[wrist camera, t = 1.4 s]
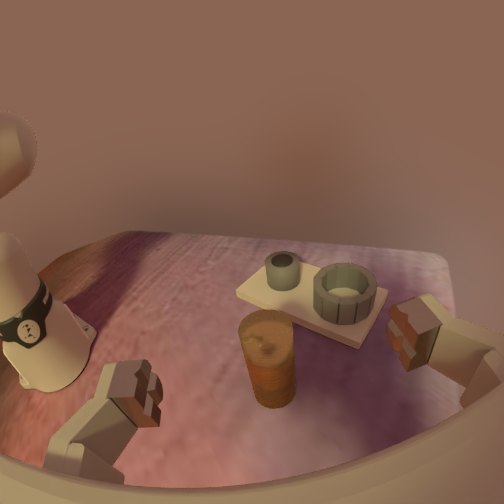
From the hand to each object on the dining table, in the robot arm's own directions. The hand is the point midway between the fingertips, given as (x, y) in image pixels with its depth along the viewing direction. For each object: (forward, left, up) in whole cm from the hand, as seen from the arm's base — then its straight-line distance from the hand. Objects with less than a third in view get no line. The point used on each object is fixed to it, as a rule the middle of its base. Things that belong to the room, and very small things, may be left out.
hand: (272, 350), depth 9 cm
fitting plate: (-14, +26, -24) cm, 38 cm away
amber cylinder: (-9, +9, -24) cm, 27 cm away
